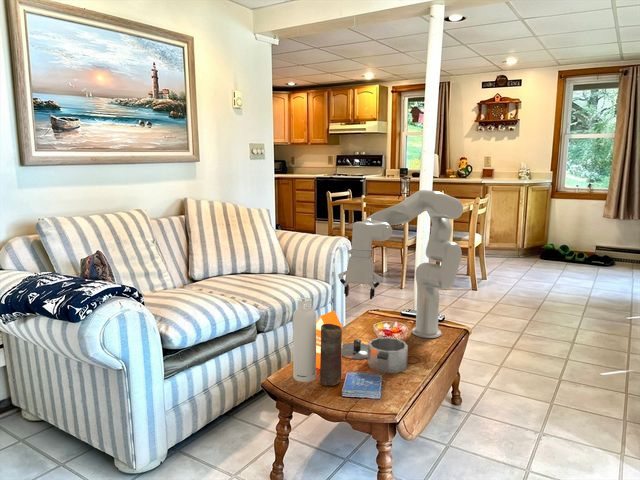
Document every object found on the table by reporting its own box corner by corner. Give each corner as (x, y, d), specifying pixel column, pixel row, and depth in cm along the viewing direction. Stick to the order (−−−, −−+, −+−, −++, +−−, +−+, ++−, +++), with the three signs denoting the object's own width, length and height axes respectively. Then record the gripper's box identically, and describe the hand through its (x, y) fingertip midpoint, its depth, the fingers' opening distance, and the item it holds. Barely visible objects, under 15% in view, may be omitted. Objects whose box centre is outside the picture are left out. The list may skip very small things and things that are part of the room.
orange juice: (311, 366, 175) (311, 314, 172) (325, 358, 182) (325, 308, 179) (328, 371, 171) (328, 318, 167) (342, 363, 177) (343, 312, 174)
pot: (374, 353, 188) (375, 333, 186) (410, 358, 183) (411, 338, 181) (362, 372, 170) (362, 351, 169) (401, 378, 166) (402, 356, 164)
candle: (328, 375, 167) (328, 321, 164) (345, 381, 163) (346, 325, 160) (315, 383, 161) (315, 327, 158) (333, 389, 157) (334, 331, 154)
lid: (344, 343, 198) (344, 331, 198) (380, 348, 193) (380, 336, 192) (332, 356, 184) (332, 344, 184) (370, 363, 179) (371, 350, 178)
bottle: (309, 369, 172) (310, 295, 168) (320, 378, 165) (320, 300, 160) (289, 374, 168) (289, 298, 164) (299, 383, 161) (299, 304, 157)
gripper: (337, 253, 181) (335, 297, 184) (382, 257, 177) (379, 301, 179) (341, 250, 188) (339, 292, 191) (384, 254, 184) (382, 297, 187)
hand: (359, 297), depth 185 cm, fingers open, 9 cm apart
